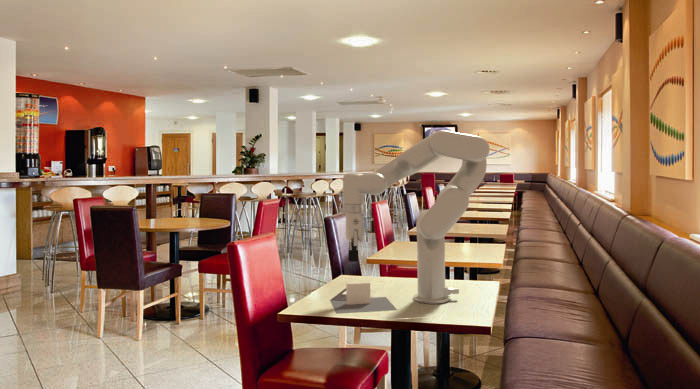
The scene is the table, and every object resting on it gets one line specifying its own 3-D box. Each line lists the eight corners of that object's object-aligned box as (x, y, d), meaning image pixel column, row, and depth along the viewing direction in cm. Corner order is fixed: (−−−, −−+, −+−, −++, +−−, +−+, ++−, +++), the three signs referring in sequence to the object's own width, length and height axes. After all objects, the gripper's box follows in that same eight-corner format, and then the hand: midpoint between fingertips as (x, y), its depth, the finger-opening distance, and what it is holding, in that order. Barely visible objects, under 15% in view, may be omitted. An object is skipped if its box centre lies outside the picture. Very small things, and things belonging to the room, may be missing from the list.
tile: (369, 302, 193) (369, 281, 192) (370, 303, 191) (370, 283, 190) (346, 303, 191) (346, 283, 191) (347, 304, 190) (346, 284, 189)
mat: (385, 297, 200) (385, 296, 199) (397, 311, 182) (397, 309, 182) (329, 301, 197) (329, 299, 197) (336, 314, 179) (336, 313, 179)
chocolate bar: (330, 299, 196) (345, 288, 214) (330, 302, 196) (345, 290, 214) (355, 301, 194) (368, 289, 211) (355, 303, 194) (368, 292, 211)
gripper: (368, 210, 188) (367, 264, 189) (360, 207, 203) (360, 257, 204) (345, 210, 187) (345, 265, 188) (340, 207, 202) (339, 257, 203)
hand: (353, 261), depth 196 cm, fingers closed
